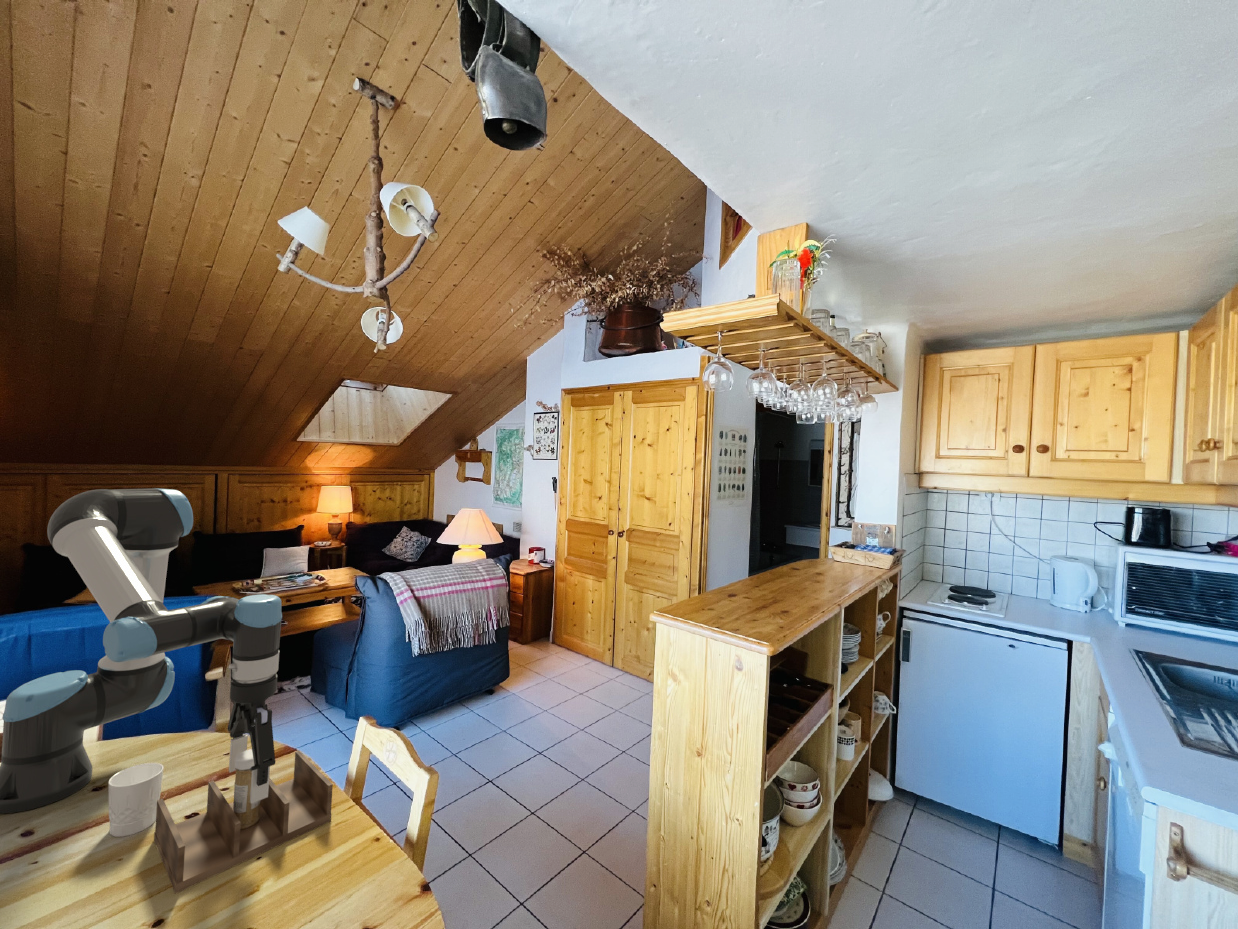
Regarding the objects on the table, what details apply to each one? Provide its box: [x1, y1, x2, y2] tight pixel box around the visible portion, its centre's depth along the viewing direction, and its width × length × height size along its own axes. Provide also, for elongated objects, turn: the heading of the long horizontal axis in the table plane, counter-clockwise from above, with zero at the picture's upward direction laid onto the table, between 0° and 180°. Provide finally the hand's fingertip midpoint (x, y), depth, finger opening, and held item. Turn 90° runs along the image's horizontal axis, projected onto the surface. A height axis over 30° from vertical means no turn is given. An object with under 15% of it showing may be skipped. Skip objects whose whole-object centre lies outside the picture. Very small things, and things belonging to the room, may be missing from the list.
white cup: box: [107, 762, 164, 837], centre depth 101 cm, size 8×8×10 cm
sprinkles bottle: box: [233, 748, 260, 829], centre depth 101 cm, size 5×5×14 cm
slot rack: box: [153, 750, 334, 895], centre depth 101 cm, size 18×24×8 cm
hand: (247, 784), depth 101 cm, fingers open, 13 cm apart
